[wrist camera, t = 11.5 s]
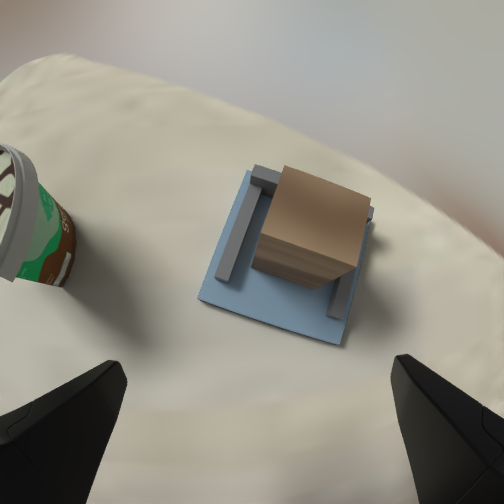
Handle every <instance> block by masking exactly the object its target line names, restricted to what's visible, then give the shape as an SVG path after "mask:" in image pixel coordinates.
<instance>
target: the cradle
mask: <svg viewBox="0 0 504 504" xmlns="http://www.w3.org/2000/svg"><path fill="white" fill-rule="evenodd" d="M281 174H282V173H280V172H277V171H274V170H271V169H268V168H265V167H262V166H259V165H256V164H255V166H254V168H253V171H249V170H247V172H246V174H245V177H244V179H243V181H242V184H241V186H240V189H239V191H238V194H237V196H236V199H235V201H234V204H233V206H232V209H231V211H230V214H229V216H228V219H227V221H226V224H225V226H224V229H223V231H222V234H221V237H220V239H219V242H218V244H217V247H216V250H215V252H214V255H213V257H212V260H211V263H210V265H209V268H208V271H207V273H206V276H205V279H204V281H203V284H202V287H201V289H200V292H199V295H198V297H197V298H198V299H199V300H202V301H204V302H207V303H210V304H213V305H215V306H218V307H221V308H224V309H227V310H229V311H232V312H235V313H238V314H241V315H244V316H247V317H250V318H253V319H256V320H259V321H262V322H265V323H268V324H271V325H274V326H277V327H280V328H283V329H286V330H289V331H293V332H296V333H299V334H302V335H305V336H309V337H312V338H315V339H319V340H322V341H326V342H329V343H332V344H336V345H340V342H341V338H342V335H343V332H344V328H345V325H346V321H347V318H348V314H349V310H350V307H351V303H352V299H353V295H354V291H355V287H356V283H357V279H358V275H359V271H360V266H361V262H362V257H363V253H364V248H365V243H366V238H367V233H368V228H369V223H370V221H371V220H372V218H373V212H374V207H371V206H369V212H368V217H367V222H366V227H365V232H364V237H363V242H362V246H361V251H360V255H359V260H358V264H357V267H356V268H354V269H352V270H350V271H349V272H347V273H345V274H343V275H341V276H339V277H338V278H336V279H334V280H332V281H330V282H328V283H327V284H325V285H323V286H321V287H319V288H317V289H315V290H314V289H311V288H308V287H305V286H302V285H299V284H297V283H294V282H291V281H288V280H285V279H282V278H279V277H276V276H273V275H270V274H268V273H265V272H262V271H259V270H256V269H253V268H251V266H252V262H253V258H254V255H255V251H256V248H257V244H258V240H259V237H260V233H261V230H262V227H263V225H264V222H265V219H266V216H267V213H268V211H269V208H270V205H271V202H272V199H273V196H274V194H275V191H276V188H277V185H278V182H279V179H280V177H281Z"/></svg>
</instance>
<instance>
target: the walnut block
mask: <svg viewBox="0 0 504 504" xmlns="http://www.w3.org/2000/svg"><path fill="white" fill-rule="evenodd" d="M370 201H371V198H369V197H367V196H364V195H362V194H360V193H357V192H355V191H352V190H350V189H347V188H345V187H342V186H340V185H337V184H334V183H332V182H329V181H327V180H324V179H321V178H319V177H316V176H313V175H310V174H308V173H305V172H302V171H299V170H296V169H294V168H291V167H288V166H285V165H284V168H283V171H282V174H281V177H280V179H279V182H278V185H277V188H276V191H275V194H274V196H273V199H272V202H271V205H270V208H269V211H268V213H267V216H266V219H265V222H264V225H263V227H262V230H261V233H260V237H259V240H258V244H257V248H256V251H255V255H254V258H253V262H252V266H251V268H253V269H256V270H259V271H262V272H265V273H268V274H270V275H273V276H276V277H279V278H282V279H285V280H288V281H291V282H294V283H297V284H299V285H302V286H305V287H308V288H311V289H314V290H315V289H317V288H319V287H321V286H323V285H325V284H327V283H328V282H330V281H332V280H334V279H336V278H338V277H339V276H341V275H343V274H345V273H347V272H349V271H350V270H352V269H354V268H356V267H357V264H358V260H359V255H360V251H361V246H362V242H363V237H364V232H365V227H366V222H367V217H368V212H369V206H370Z"/></svg>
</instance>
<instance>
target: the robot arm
mask: <svg viewBox="0 0 504 504" xmlns="http://www.w3.org/2000/svg"><path fill="white" fill-rule="evenodd" d="M391 385H392V390H393V396H394V401H395V407H396V412H397V418H398V423H399V426H400V430H401V433H402V437H403V440H404V444H405V447H406V451H407V455H408V458H409V462H410V466H411V470H412V474H413V478H414V482H415V486H416V490H417V495H418V499H419V504H504V419H503V418H502V417H500V416H499V415H497V414H496V413H494V412H493V411H491V410H490V409H488V408H487V407H485V406H483V405H482V404H481V403H479V402H478V401H476V400H475V399H473V398H472V397H470V396H469V395H468V394H466V393H465V392H463V391H462V390H460V389H459V388H457V387H456V386H454V385H453V384H451V383H450V382H449V381H447V380H446V379H444V378H443V377H441V376H440V375H438V374H437V373H435V372H434V371H432V370H431V369H429V368H428V367H427V366H425V365H424V364H422V363H421V362H419V361H418V360H416V359H415V358H413V357H412V356H410V355H409V354H402V355H397V356H396V357H395V358H394V362H393V367H392V372H391ZM126 387H127V378H126V375H125V373H124V371H123V368H122V366H121V364H120V363H119V362H118V361H114V360H107V361H105V362H104V363H102V364H100V365H98V366H96V367H95V368H93V369H91V370H89V371H87V372H85V373H84V374H82V375H80V376H78V377H76V378H74V379H73V380H71V381H69V382H67V383H65V384H63V385H62V386H60V387H58V388H56V389H54V390H52V391H50V392H49V393H47V394H45V395H43V396H41V397H39V398H37V399H35V400H34V401H31V402H30V403H28V404H26V405H24V406H22V407H20V408H18V409H16V410H14V411H11V412H9V413H7V414H4V415H2V416H0V504H86V502H87V499H88V496H89V493H90V490H91V487H92V484H93V482H94V479H95V476H96V473H97V470H98V468H99V465H100V462H101V460H102V457H103V454H104V452H105V449H106V446H107V444H108V441H109V439H110V436H111V434H112V431H113V429H114V426H115V423H116V421H117V418H118V415H119V411H120V408H121V404H122V401H123V397H124V394H125V390H126Z"/></svg>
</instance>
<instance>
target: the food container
mask: <svg viewBox="0 0 504 504" xmlns="http://www.w3.org/2000/svg"><path fill="white" fill-rule="evenodd" d="M75 249H76V236H75V228H74V225H73V223H72V220H71V218H70V216H69V215H68V214H67V212H66V211H65V210H64V209H63V208H62V207H61V206H60V205H59V204H58V203H57V202H56V201H55V200H54V199H53V197H52V196H51V195H50V194H49V193H48V192H47V191H46V190H45V189H44V188H43V187H42V185H41V184H40V183H39V182H38V178H37V173H36V170H35V167H34V165H33V163H32V162H31V160H30V159H29V158H28V157H27V156H26V155H25V154H24V153H22V152H20V151H18V150H16V149H14V148H13V147H10V146H8V145H4V144H0V277H3V278H5V279H7V280H9V281H11V282H13V281H14V279H15V277H17V278H21V279H26V280H30V281H34V282H39V283H43V284H48V285H53V286H58V287H62V286H63V284H64V282H65V281H66V279H67V278H68V276H69V273H70V270H71V267H72V264H73V262H74V257H75Z"/></svg>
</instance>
